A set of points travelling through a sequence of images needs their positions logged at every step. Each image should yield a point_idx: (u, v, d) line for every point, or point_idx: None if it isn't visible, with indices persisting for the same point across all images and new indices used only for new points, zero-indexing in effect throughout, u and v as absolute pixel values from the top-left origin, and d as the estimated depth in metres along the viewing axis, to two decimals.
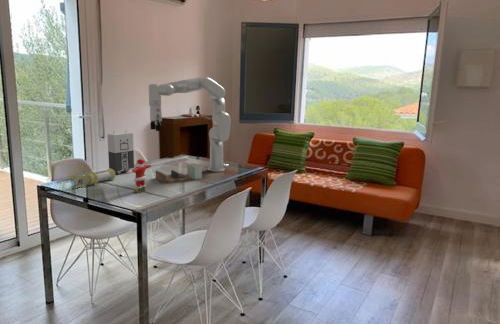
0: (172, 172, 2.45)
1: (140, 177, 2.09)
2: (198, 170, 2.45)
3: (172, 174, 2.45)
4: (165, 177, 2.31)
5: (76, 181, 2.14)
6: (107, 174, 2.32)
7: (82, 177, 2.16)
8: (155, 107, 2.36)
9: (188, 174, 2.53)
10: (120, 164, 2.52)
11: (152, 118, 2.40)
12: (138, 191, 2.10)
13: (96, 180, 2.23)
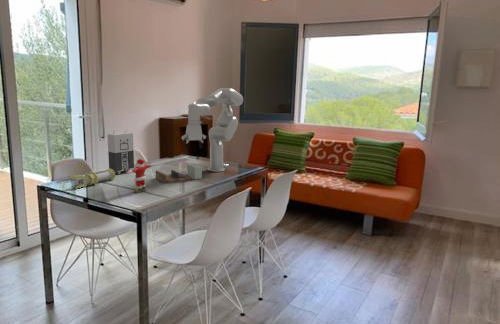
0: (172, 172, 2.45)
1: (140, 177, 2.09)
2: (198, 170, 2.45)
3: (172, 174, 2.45)
4: (165, 177, 2.31)
5: (76, 181, 2.13)
6: (107, 174, 2.32)
7: (82, 177, 2.16)
8: (200, 126, 2.46)
9: (188, 174, 2.53)
10: (120, 164, 2.52)
11: (196, 137, 2.44)
12: (138, 191, 2.10)
13: (96, 180, 2.23)
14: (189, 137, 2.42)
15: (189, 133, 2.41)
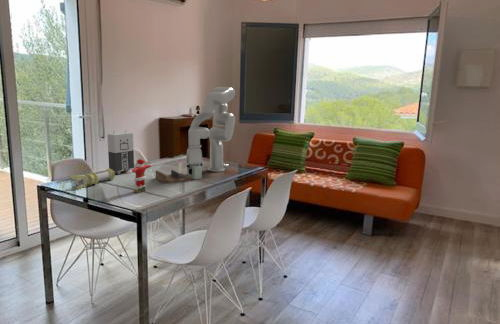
0: (172, 172, 2.45)
1: (140, 177, 2.09)
2: (198, 169, 2.45)
3: (172, 174, 2.45)
4: (165, 177, 2.31)
5: (77, 181, 2.13)
6: (106, 174, 2.32)
7: (83, 177, 2.15)
8: None
9: (188, 174, 2.53)
10: (120, 164, 2.52)
11: (196, 161, 2.47)
12: (138, 191, 2.10)
13: (96, 180, 2.23)
14: (189, 161, 2.45)
15: (189, 157, 2.44)
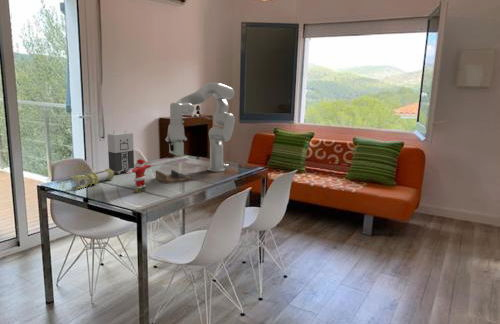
0: (172, 172, 2.45)
1: (140, 177, 2.09)
2: (179, 145, 2.35)
3: (172, 174, 2.45)
4: (165, 177, 2.31)
5: (78, 182, 2.12)
6: (106, 174, 2.32)
7: (83, 178, 2.15)
8: (183, 126, 2.39)
9: (170, 151, 2.43)
10: (120, 164, 2.52)
11: (178, 137, 2.37)
12: (138, 191, 2.10)
13: (96, 180, 2.23)
14: (171, 137, 2.35)
15: (171, 133, 2.34)
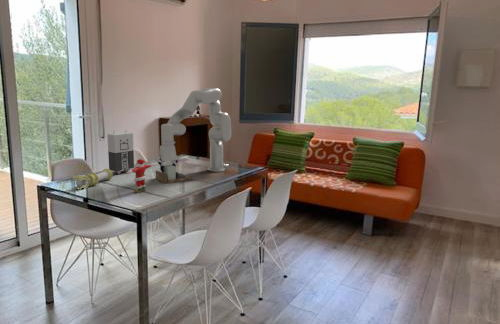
0: None
1: (140, 177, 2.09)
2: (171, 170, 2.35)
3: None
4: (165, 177, 2.31)
5: (79, 182, 2.12)
6: (105, 174, 2.32)
7: (85, 178, 2.14)
8: (174, 146, 2.38)
9: None
10: (120, 164, 2.52)
11: (170, 158, 2.37)
12: (138, 191, 2.10)
13: (97, 180, 2.22)
14: (162, 158, 2.34)
15: (162, 154, 2.34)
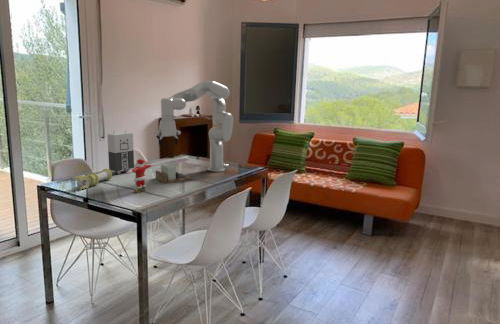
0: None
1: (140, 177, 2.09)
2: (171, 170, 2.35)
3: None
4: (165, 177, 2.31)
5: (80, 182, 2.11)
6: (105, 174, 2.32)
7: (85, 178, 2.14)
8: (174, 121, 2.36)
9: None
10: (120, 164, 2.52)
11: (170, 133, 2.35)
12: (138, 191, 2.10)
13: (97, 180, 2.22)
14: (162, 133, 2.32)
15: (162, 129, 2.32)
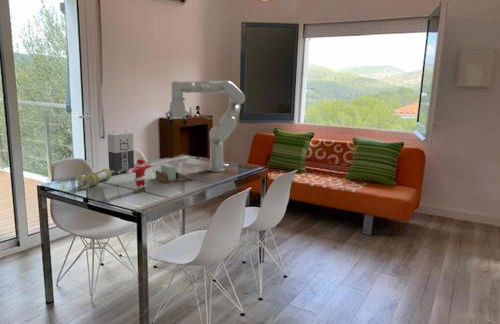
0: None
1: (140, 177, 2.09)
2: (171, 170, 2.35)
3: None
4: (165, 177, 2.31)
5: (81, 182, 2.11)
6: (104, 174, 2.32)
7: (86, 178, 2.14)
8: None
9: None
10: (120, 164, 2.52)
11: (179, 114, 2.52)
12: (138, 191, 2.10)
13: (97, 181, 2.22)
14: (172, 113, 2.50)
15: (172, 110, 2.49)
